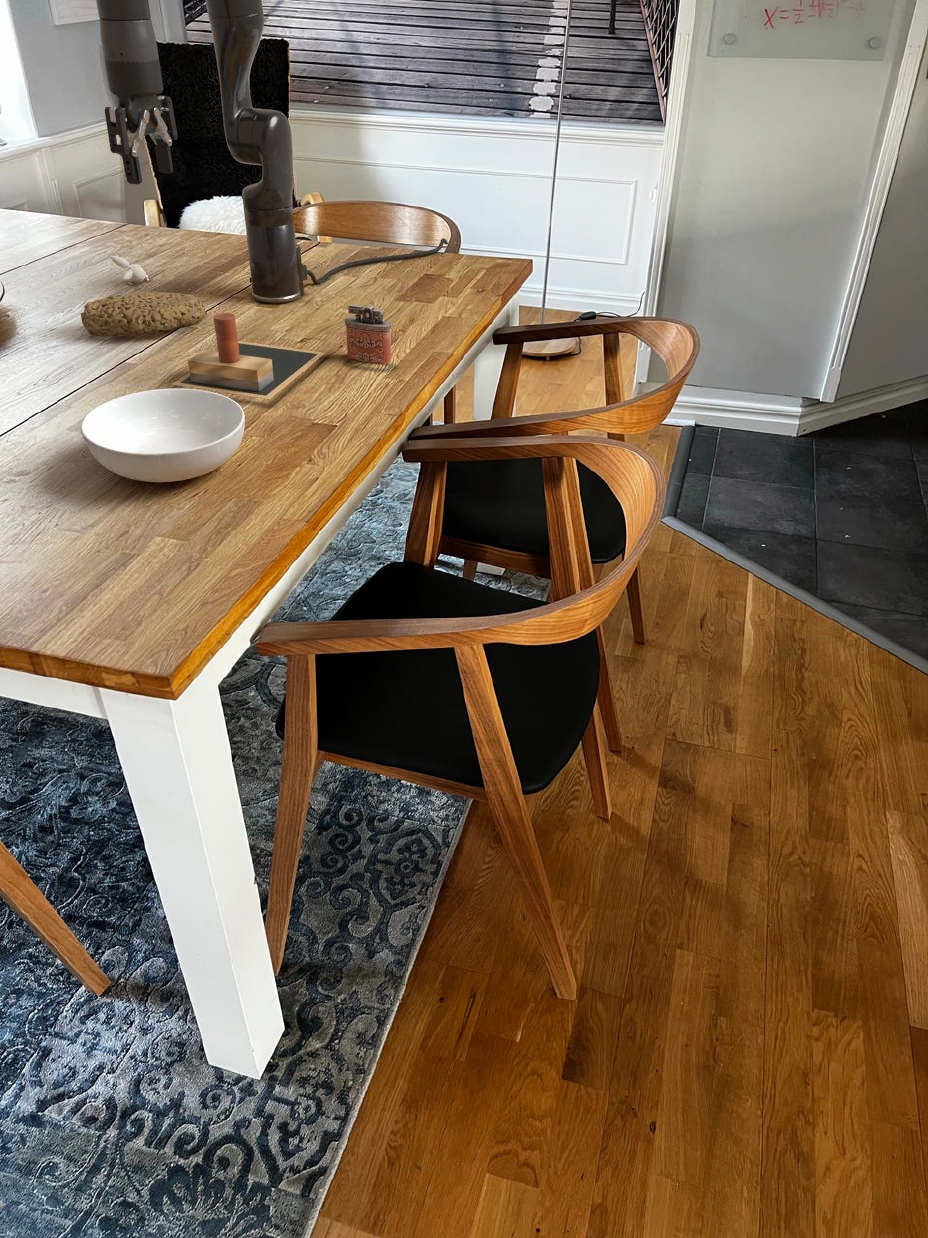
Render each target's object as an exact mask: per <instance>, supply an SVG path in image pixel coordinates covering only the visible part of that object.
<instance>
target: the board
mask: <svg viewBox="0 0 928 1238" xmlns="http://www.w3.org/2000/svg"><path fill="white" fill-rule="evenodd" d="M238 345H239V354H240V355H245V356H253V357H260V358H267V359H272V367H273V378H274V380H273V381H272V382H271V383H270V384H268V385H267V386H266V387H265V388H263V389H262V390H261V391H260V392H258V391H251V390H244V389H238V388H231V387H224V386H217V385H211V384H204V383H197V382H191V379H190V372H189V371H188V372H187V373H186V374H183V376H181V377H180V378H178V379H177V380H175V381H174V382H172V383H171V385H172V386H173V385H174V386H178V387H186V388H190V389H197V390H203V391H210V392H218V393H223V394H224V393H225V394H226V393H227V394H231V395H238V396H245V397H251V398H257V399H264V400H270V399H271V398H272V397H274V396H276V395H277V393H279V392H280V391H281V390H282V389H283V388H285V387H286V386H287V385H289V383H291V382H292V381H293V380H295V378H297V377H298V376H299V375H301V374H302V373H303V372H304V371H305V370H308V368H309V367H311V366H312V364H314V363H315V362H317V361H318V360H319V359H320V358H322V357H323V356H324V355H326V352H322V351H317V350H309V349H301V348H300V349H299V348H294V347H293V348H292V347H286V346H278V345H271V344H264V343H256V342H250V341H249V342H248V341H243V340H238Z"/></svg>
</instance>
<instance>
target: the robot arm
mask: <svg viewBox="0 0 928 1238" xmlns="http://www.w3.org/2000/svg"><path fill="white" fill-rule="evenodd" d="M149 3H150V2H149V0H95V4H96V9H97V14H98V18H99V28H100V29H99V32H100V42H101V47H102V53H103V59H104V64H105V70H106V76H107V81H108V87H109V91H110V93H112V94H113V95H115V96H116V97H117V99H118V101H117V102H118V103H117V107H115V106H105V108H104V116H105V122H106V129H107V136H108V143H109V149H110V152H111V153H112V154H116V155H119V156H121V159H122V163H123V169H124V176H125V178H126V182H127V183H128V184H130V185H140V184H142V183H143V176H142V170H141V164H140V157H139V156H138V153H139V148H140V144H142V143H143V142H144V138H145V136H146V137H147V136H148V135H149V137H150V138H151V140H152V142H153V143H154V145H156V146H154V151H155V159H156V166H157V170H158V172H159V173H160V174H165V175H166V174H169V175H170V174H172V173H173V172H174V167H173V161H172V160H173V159H172V151H171V147H172V145H173V141H177V140H178V137H179V135H178V130H177V129H178V128H177V125H176V118H175V112H174V107H173V101H172V97H170V96H166V95H160V94H162V93H163V92H164V84H163V77H162V71H161V63H160V58H159V57H160V56H159V51H158V43H157V38H156V33H155V30H154V26H153V22H152V16H151V10H150V4H149ZM205 6H206V10H207V16H208V21H209V25H210V30H211V34H212V41H213V46H214V52H215V58H216V65H217V72H218V78H219V88H220V98H221V109H222V119H223V129H224V136H225V140H226V144H227V148H228V150H229V152H230V154H231V157H233V159H234V161H237V162H239V163H241V164H246V165H255V166H262V177H261V179H260V181H258V182H255V183H252V184H249V185H246V186H245V187H244V188H243V189H242V191H241V193H242V194H241V197H242V205H243V215H244V223H245V224H244V226H245V233H246V243H247V252H248V260H249V261H248V262H249V270H250V277H249V283H250V284H251V289H252V291H251V295H252V299H254V300H255V301H257V302H261V303H267V304H283V303H288V302H289V303H290V302H294V301H295V300H297V299H300V297H301V296H304V295H305V288H304V287H305V286H304V281H307V280H308V276H309V277H310V279H311V281H312V282H313V284H315V285H320V284H322V283H324V282H326V281H327V280H328V279H329V278H330V277H331V276H333V275H334V274H336V273H338V272H340V271H343V270H345V269H348V268H351V267H355V266H360V265H365V264H366V265H367V264H372V263H379V262H387V261H395V260H404V259H405V260H406V259H410V258H411V259H412V258H419V257H423V256H429V255H432V254H436V253H438V252H439V251H441V249H442V248H443V247H444V245H449V242H448V240H447V239H446V238H444V237H443V238H441V239H440V242H439V243H438V246H437V247H435V248H433V249H432V248H431V249H429V250H425V251H426V252H423V251H418V252H412V253H404V254H396V255H386V256H385V255H384V256H379V257H378V256H377V257H373V258H365V259H359V260H355V261H351V262H350V261H349V262H346V263H344V264H341V265H339V266H336V267H335V268H332V269H330V270H329V271H327V272H326V273H325V274H324V275H323V276H322V277H321V278H320V279H318V278H316V275H315V273H313V271H311V270H309V269H308V268H307V267H308V266H307V265H306V264H304V263H303V262H302V252H301V251H302V250H301V246H300V244H298V243H297V241H296V239H297V237H296V228H295V227H296V226H295V217H294V205H293V203H294V201H293V193H294V187H295V186H294V185H295V176H294V146H293V134H292V127H291V124H290V123H289V122H290V121H289V119H288V117H287V116H286V115H285V114H284V113H283V112H282V111H279V110H275V109H269V108H268V109H265V108H255V107H253V104H252V98H251V88H250V75H251V69H252V65H253V62H254V59H255V57H256V54H257V51H258V48H259V46H260V42H261V40H262V36H263V34H264V28H265V14H264V6H263V0H205ZM166 123H167V124H168V126H167V124H166ZM168 129H169V130H168ZM128 131H129V132H128ZM117 136H118V138H119V143H118V139H117ZM130 143H131V144H130Z"/></svg>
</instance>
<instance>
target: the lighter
mask: <svg viewBox="0 0 928 1238" xmlns="http://www.w3.org/2000/svg"><path fill="white" fill-rule="evenodd" d="M347 313H348V314H351V315H355V316H348V317H346V318H344V325H345V331H346V332H345V333H346V349H347V358H348V359H350V360H354V361H359V362H363V363H371V364H384V365H387V364H391V362H392V346H391V345H392V343H391V330H392V322H390V321H387V320H384V317H385V310H384V309H382V308H376V306H375V305H373V304H369V305H367V306H364V305H359V304H354V303H351V304H349V305H348V306H347ZM392 369H393V364H391V365H390V366H389V367H388V368H386V370H385V371H386V372H387V371H391V370H392Z"/></svg>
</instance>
